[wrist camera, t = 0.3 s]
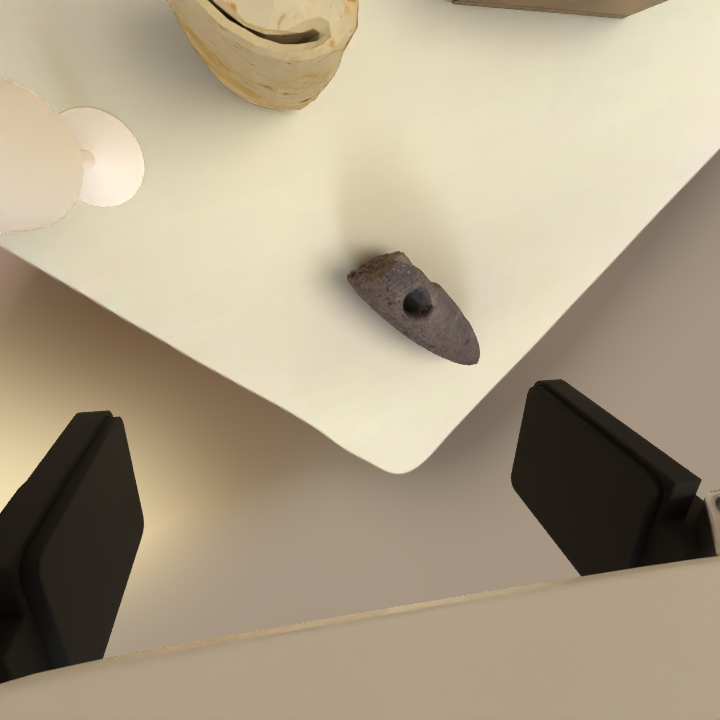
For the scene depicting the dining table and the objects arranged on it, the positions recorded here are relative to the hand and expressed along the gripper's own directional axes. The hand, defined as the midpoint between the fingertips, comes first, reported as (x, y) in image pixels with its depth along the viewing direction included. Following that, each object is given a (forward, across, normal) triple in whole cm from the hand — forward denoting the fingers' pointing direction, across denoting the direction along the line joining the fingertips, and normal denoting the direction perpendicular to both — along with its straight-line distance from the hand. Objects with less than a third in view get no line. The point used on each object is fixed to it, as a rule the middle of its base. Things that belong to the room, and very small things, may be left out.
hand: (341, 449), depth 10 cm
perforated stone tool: (+31, -12, +6) cm, 33 cm away
